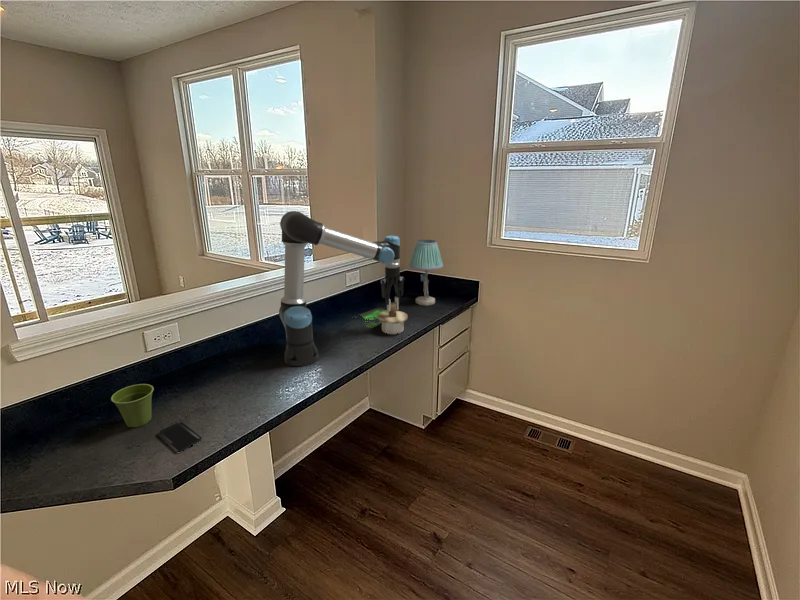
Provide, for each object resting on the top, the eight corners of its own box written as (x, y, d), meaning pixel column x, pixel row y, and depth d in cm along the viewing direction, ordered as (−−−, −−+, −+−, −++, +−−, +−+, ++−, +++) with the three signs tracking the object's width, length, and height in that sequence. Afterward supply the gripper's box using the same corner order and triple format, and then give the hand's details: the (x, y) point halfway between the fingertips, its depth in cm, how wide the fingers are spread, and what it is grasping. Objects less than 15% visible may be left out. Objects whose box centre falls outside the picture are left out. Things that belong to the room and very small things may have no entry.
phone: (180, 421, 131) (202, 438, 122) (181, 423, 131) (203, 441, 123) (155, 433, 125) (177, 452, 116) (156, 435, 125) (177, 455, 117)
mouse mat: (369, 330, 208) (369, 328, 208) (344, 319, 223) (344, 318, 223) (404, 317, 227) (404, 315, 227) (379, 308, 241) (379, 306, 241)
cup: (388, 335, 201) (388, 323, 198) (379, 328, 210) (378, 316, 208) (406, 331, 206) (406, 319, 203) (397, 324, 215) (397, 313, 213)
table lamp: (406, 297, 261) (407, 238, 248) (438, 296, 263) (440, 238, 250) (411, 308, 240) (412, 244, 227) (445, 307, 242) (448, 244, 230)
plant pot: (133, 436, 125) (126, 406, 121) (110, 427, 129) (102, 397, 125) (167, 416, 135) (161, 388, 131) (145, 408, 139) (138, 380, 136)
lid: (386, 325, 195) (385, 310, 193) (372, 315, 209) (372, 301, 206) (413, 320, 202) (413, 305, 200) (398, 310, 216) (398, 297, 213)
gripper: (380, 270, 190) (381, 314, 197) (410, 266, 197) (410, 309, 205) (374, 266, 196) (375, 310, 203) (403, 263, 203) (403, 305, 211)
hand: (392, 309), depth 204 cm, fingers closed on lid, 4 cm apart
